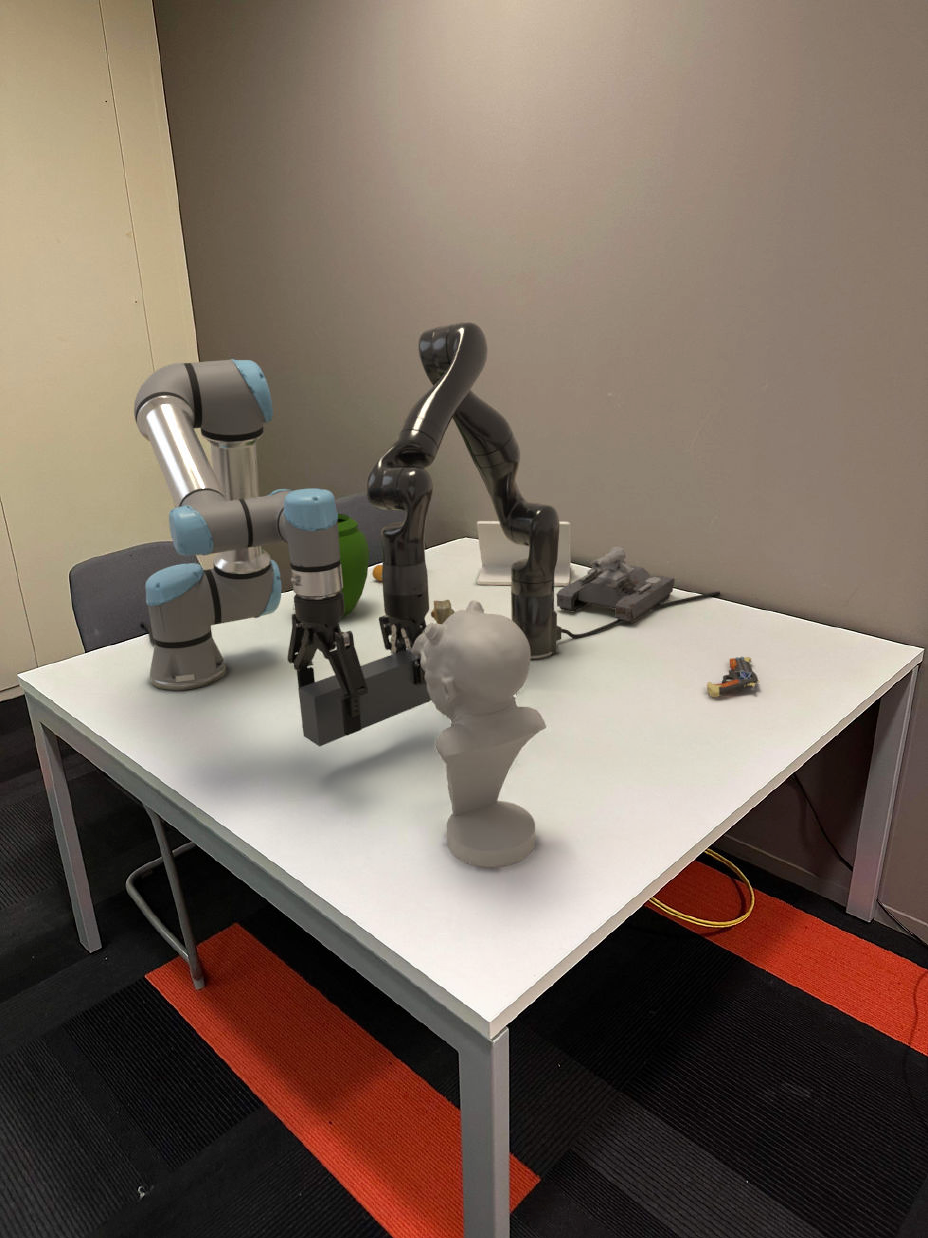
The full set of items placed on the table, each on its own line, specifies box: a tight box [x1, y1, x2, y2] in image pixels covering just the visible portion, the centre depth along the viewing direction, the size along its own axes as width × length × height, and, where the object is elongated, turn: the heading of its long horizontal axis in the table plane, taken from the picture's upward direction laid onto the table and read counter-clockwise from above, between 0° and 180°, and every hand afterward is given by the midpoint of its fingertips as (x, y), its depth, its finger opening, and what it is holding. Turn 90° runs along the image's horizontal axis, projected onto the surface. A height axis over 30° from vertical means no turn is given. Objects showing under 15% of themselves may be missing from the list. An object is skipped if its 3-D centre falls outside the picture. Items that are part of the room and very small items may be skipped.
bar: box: [297, 649, 432, 747], centre depth 142 cm, size 24×5×9 cm, turn 131°
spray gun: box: [371, 564, 383, 582], centre depth 240 cm, size 4×17×15 cm
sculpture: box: [430, 599, 456, 624], centre depth 177 cm, size 6×7×15 cm
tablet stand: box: [476, 520, 572, 587], centre depth 236 cm, size 18×25×17 cm
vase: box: [288, 513, 370, 619], centre depth 209 cm, size 20×20×24 cm
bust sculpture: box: [411, 599, 547, 868], centre depth 121 cm, size 16×24×35 cm
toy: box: [556, 546, 676, 624], centre depth 212 cm, size 25×20×15 cm
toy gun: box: [706, 656, 760, 698], centre depth 171 cm, size 3×19×10 cm
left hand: (330, 718), depth 138 cm, fingers open, 12 cm apart
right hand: (411, 679), depth 147 cm, fingers closed on bar, 4 cm apart
